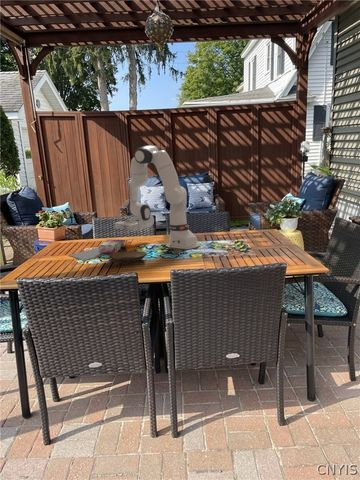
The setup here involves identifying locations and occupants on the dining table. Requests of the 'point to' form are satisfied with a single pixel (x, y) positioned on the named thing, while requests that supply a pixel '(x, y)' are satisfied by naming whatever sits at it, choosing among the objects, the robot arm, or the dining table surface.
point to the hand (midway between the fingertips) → (116, 227)
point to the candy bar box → (110, 246)
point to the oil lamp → (126, 255)
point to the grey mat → (89, 254)
